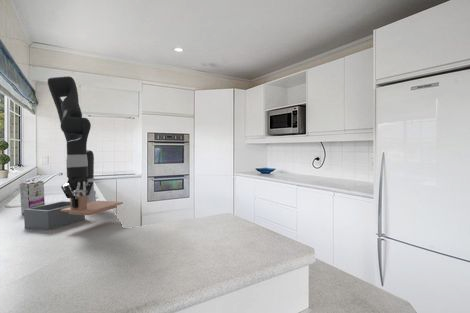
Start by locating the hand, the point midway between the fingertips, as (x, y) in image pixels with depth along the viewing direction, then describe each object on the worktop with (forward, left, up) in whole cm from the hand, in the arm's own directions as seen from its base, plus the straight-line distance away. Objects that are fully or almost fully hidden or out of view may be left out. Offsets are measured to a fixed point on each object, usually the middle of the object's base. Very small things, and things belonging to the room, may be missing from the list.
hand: (78, 207), depth 108 cm
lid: (-8, 0, -3) cm, 8 cm away
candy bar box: (-21, -56, -10) cm, 60 cm away
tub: (-6, -20, -10) cm, 23 cm away
